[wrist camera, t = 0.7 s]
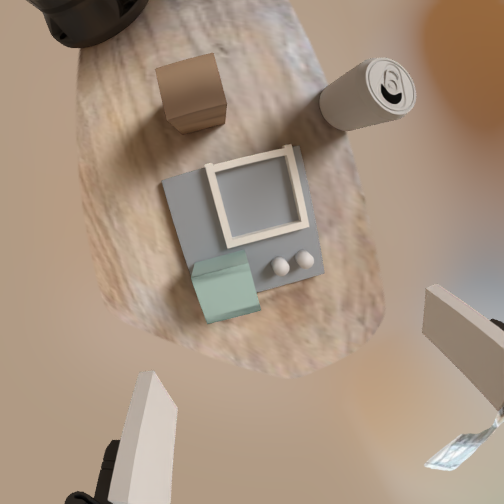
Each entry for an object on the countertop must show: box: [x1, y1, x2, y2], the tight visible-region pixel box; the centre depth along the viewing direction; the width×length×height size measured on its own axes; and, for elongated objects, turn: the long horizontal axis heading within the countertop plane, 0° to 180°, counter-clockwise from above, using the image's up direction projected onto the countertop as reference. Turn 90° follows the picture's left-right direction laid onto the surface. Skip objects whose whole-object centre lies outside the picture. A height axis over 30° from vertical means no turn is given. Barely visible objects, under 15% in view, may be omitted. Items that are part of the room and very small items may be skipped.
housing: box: [191, 250, 261, 324], centre depth 31 cm, size 6×6×5 cm
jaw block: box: [155, 53, 227, 135], centre depth 24 cm, size 5×5×10 cm
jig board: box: [162, 144, 324, 293], centre depth 32 cm, size 16×16×3 cm
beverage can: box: [319, 58, 416, 131], centre depth 25 cm, size 6×6×12 cm
